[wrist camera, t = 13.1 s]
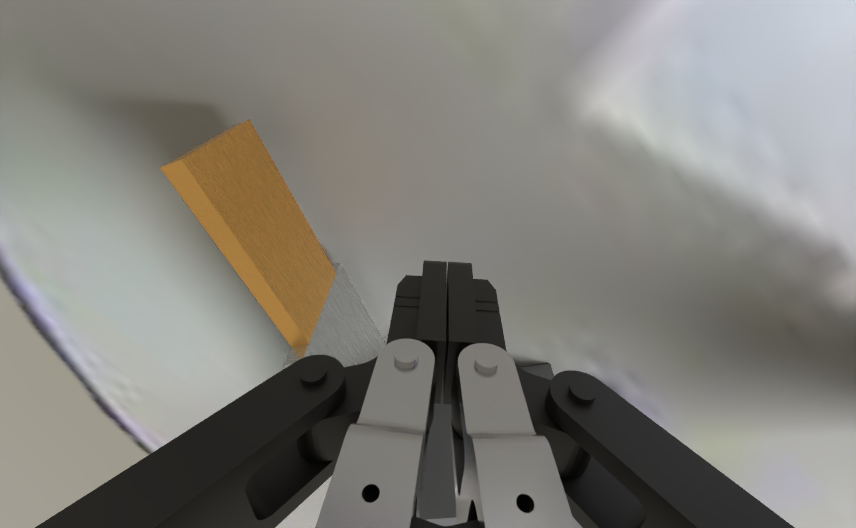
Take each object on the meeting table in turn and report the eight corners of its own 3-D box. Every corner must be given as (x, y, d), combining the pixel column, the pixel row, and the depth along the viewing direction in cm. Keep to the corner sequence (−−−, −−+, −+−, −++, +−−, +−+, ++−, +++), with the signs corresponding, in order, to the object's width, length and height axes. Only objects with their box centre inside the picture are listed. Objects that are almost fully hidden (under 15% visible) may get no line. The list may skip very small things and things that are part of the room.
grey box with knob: (550, 363, 26) (600, 526, 18) (553, 425, 30) (596, 584, 22) (373, 384, 28) (346, 542, 20) (398, 441, 31) (383, 593, 23)
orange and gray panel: (412, 381, 27) (403, 506, 20) (396, 384, 27) (381, 509, 20) (267, 109, 17) (156, 175, 10) (243, 118, 17) (120, 188, 11)
